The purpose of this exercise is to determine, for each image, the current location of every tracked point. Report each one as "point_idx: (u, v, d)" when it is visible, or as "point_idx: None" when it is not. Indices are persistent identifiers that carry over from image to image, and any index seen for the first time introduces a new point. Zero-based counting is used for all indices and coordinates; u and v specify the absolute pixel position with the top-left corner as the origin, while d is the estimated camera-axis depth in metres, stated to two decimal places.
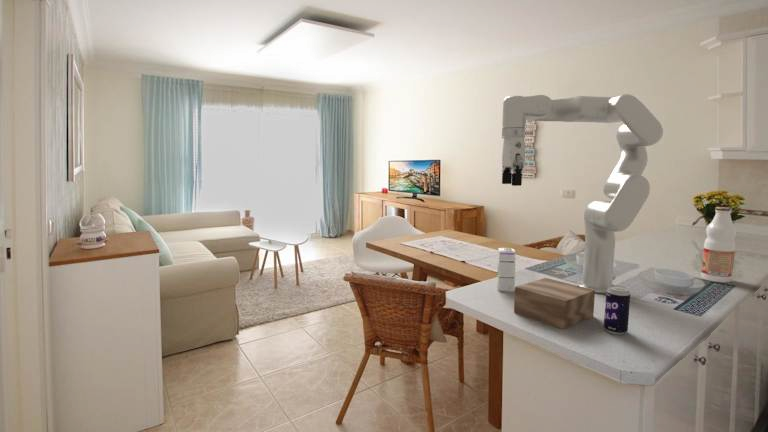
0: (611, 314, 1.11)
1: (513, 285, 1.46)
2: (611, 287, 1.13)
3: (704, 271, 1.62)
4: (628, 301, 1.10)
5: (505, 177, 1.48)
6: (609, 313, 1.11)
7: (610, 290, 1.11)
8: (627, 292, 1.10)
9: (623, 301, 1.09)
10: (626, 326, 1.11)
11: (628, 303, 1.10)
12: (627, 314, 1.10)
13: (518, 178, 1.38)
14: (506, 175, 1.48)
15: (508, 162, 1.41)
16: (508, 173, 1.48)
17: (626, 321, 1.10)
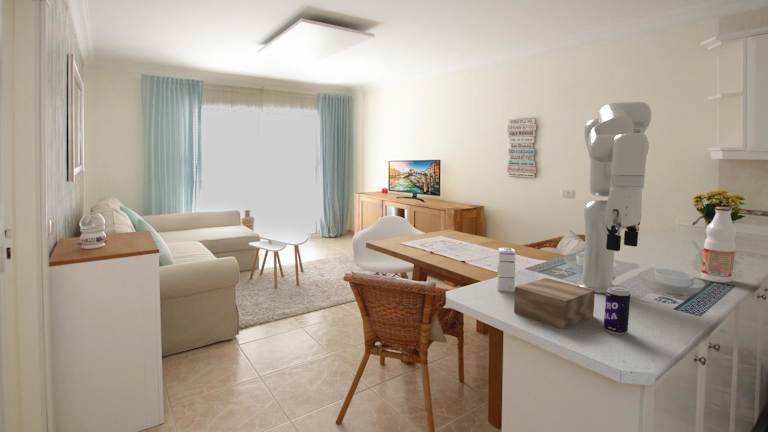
0: (611, 314, 1.11)
1: (513, 285, 1.46)
2: (611, 287, 1.13)
3: (704, 271, 1.62)
4: (628, 301, 1.10)
5: None
6: (609, 313, 1.11)
7: (610, 290, 1.11)
8: (627, 292, 1.10)
9: (623, 301, 1.09)
10: (626, 326, 1.11)
11: (628, 303, 1.10)
12: (627, 314, 1.10)
13: None
14: None
15: (637, 219, 1.09)
16: None
17: (626, 321, 1.10)
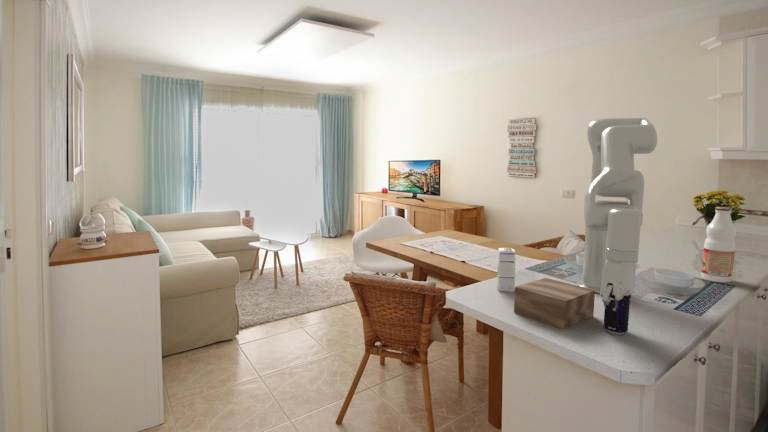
0: None
1: (513, 285, 1.46)
2: None
3: (704, 271, 1.62)
4: (628, 301, 1.10)
5: None
6: None
7: None
8: (627, 292, 1.10)
9: (623, 301, 1.09)
10: (626, 326, 1.11)
11: (628, 303, 1.10)
12: (627, 314, 1.10)
13: None
14: None
15: (631, 291, 1.11)
16: None
17: (626, 321, 1.10)
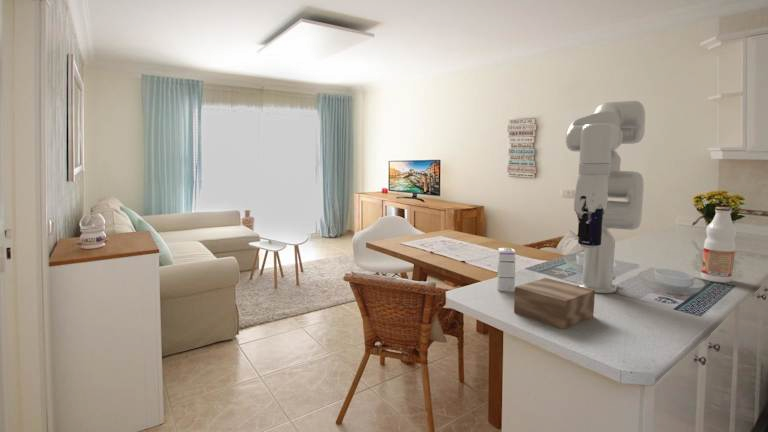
0: None
1: (513, 285, 1.46)
2: None
3: (704, 271, 1.62)
4: (601, 214, 1.13)
5: None
6: None
7: None
8: (600, 205, 1.13)
9: (596, 214, 1.12)
10: (599, 239, 1.14)
11: (601, 216, 1.13)
12: (600, 227, 1.13)
13: None
14: None
15: (604, 205, 1.15)
16: None
17: (599, 234, 1.13)
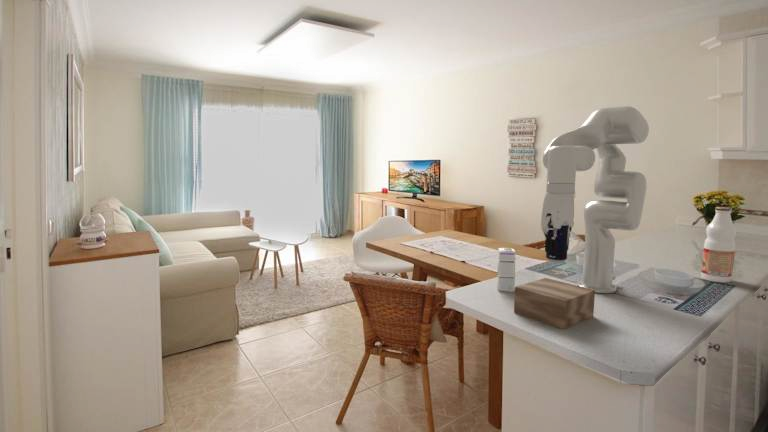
0: None
1: (513, 285, 1.46)
2: None
3: (704, 271, 1.62)
4: (566, 231, 1.20)
5: None
6: None
7: None
8: (565, 222, 1.20)
9: (561, 230, 1.19)
10: (565, 254, 1.21)
11: (566, 233, 1.20)
12: (565, 243, 1.20)
13: None
14: None
15: (570, 222, 1.22)
16: None
17: (565, 249, 1.20)
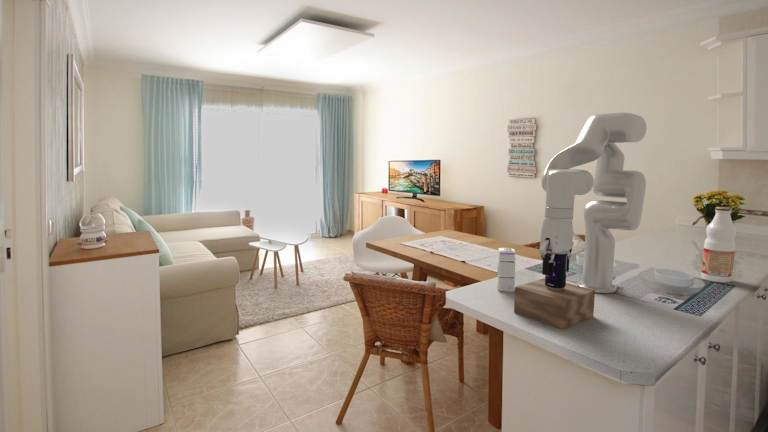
0: None
1: (513, 285, 1.46)
2: None
3: (704, 271, 1.62)
4: (564, 259, 1.21)
5: None
6: None
7: (549, 250, 1.23)
8: (563, 251, 1.21)
9: (559, 259, 1.21)
10: (563, 282, 1.22)
11: (564, 261, 1.21)
12: (564, 271, 1.22)
13: None
14: None
15: (568, 246, 1.23)
16: None
17: (563, 277, 1.22)
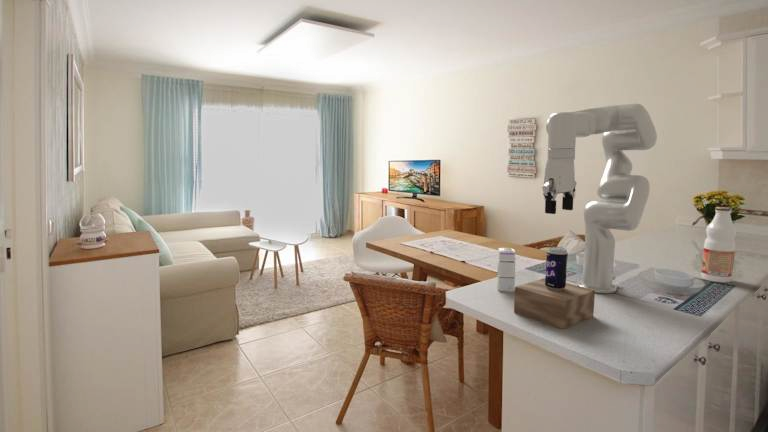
0: (550, 271, 1.22)
1: (513, 285, 1.46)
2: (551, 248, 1.24)
3: (704, 271, 1.62)
4: (565, 259, 1.21)
5: None
6: (548, 270, 1.23)
7: (549, 250, 1.23)
8: (564, 251, 1.21)
9: (560, 259, 1.21)
10: (563, 282, 1.22)
11: (565, 261, 1.21)
12: (564, 271, 1.21)
13: None
14: None
15: (571, 186, 1.27)
16: None
17: (563, 278, 1.22)
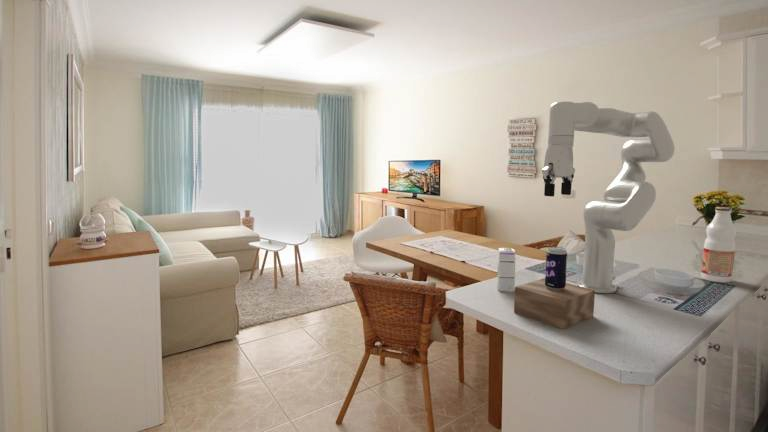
0: (550, 271, 1.22)
1: (513, 285, 1.46)
2: (551, 248, 1.25)
3: (704, 271, 1.62)
4: (564, 259, 1.21)
5: None
6: (548, 270, 1.23)
7: (549, 250, 1.23)
8: (563, 251, 1.21)
9: (559, 259, 1.21)
10: (563, 282, 1.22)
11: (564, 261, 1.21)
12: (564, 271, 1.21)
13: None
14: None
15: (569, 172, 1.35)
16: None
17: (563, 278, 1.22)
